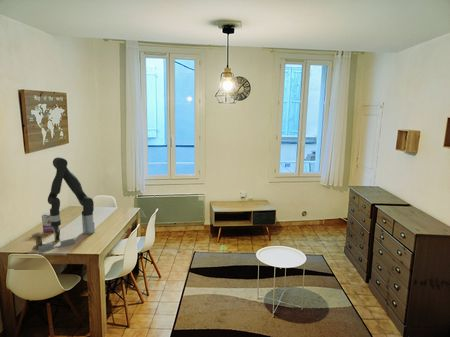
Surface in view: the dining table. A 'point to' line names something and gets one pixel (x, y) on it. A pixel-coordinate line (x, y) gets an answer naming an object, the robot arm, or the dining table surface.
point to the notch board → (50, 246)
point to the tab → (55, 237)
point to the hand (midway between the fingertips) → (57, 239)
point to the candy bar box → (46, 223)
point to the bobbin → (38, 239)
